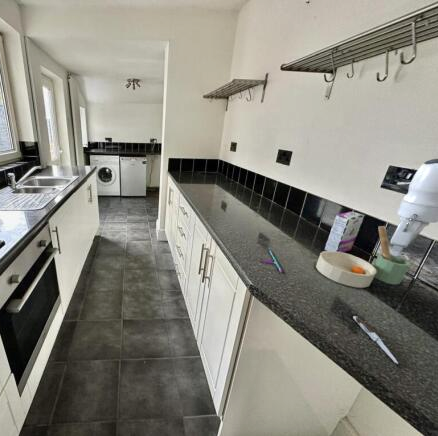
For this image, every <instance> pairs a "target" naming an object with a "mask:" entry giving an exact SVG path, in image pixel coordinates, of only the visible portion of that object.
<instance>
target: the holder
mask: <svg viewBox="0 0 438 436" xmlns="http://www.w3.org/2000/svg"><path fill="white" fill-rule="evenodd" d="M390 257H391V261H389V260H386V259H385V258H383V254H382V252H381V253H379V254H378V255H377V257H376V259H375V262H374V264H372V265H373V267H374V268H375V269H376V271H377V273H376V275H375V277H374V279H376V280H378V281H380V282H384V283H386V284H390V285H400V284H401V283H402V281H403V279H404V277H405V276H406V274H407V272H408V270H409V269H410V266H411V265H412V264H411V262H410V261H409V260H407V259H406V258H403V257H401V256H400V255H399V256H394V255H392V254H391V253H390Z"/></svg>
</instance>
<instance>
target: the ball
mask: <svg viewBox="0 0 438 436" xmlns="http://www.w3.org/2000/svg"><path fill="white" fill-rule="evenodd" d="M351 272H352V273H356V274H363V273H364V271H363V269H362V268H361V267H358V266H355V267H353V268H352V269H351Z"/></svg>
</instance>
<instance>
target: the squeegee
mask: <svg viewBox="0 0 438 436" xmlns="http://www.w3.org/2000/svg"><path fill="white" fill-rule="evenodd" d="M268 252H269V253H270V255H271V257H272V260H273V261H274V262H273V261H271V260H262V263H266V264H274V265H276V267H277V269H278V271H279V273H280V274H283V270H282V268H281V267H280V265H279V263H278V261H277V259H276V258H275V255H274V254H273V252H272V251H271V250H268Z"/></svg>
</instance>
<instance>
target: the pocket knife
mask: <svg viewBox="0 0 438 436" xmlns="http://www.w3.org/2000/svg"><path fill="white" fill-rule="evenodd" d="M352 318H353V320H354V321H355V322H356V323H357V325H359V326H360V328H361V329H362V330H363V331H364V332H365V333H366V334H367V335H368V336H369V337H370V338H371V339H372V341H374V342H375V343H376V344H377V345H378V346H379V347H380V348H381V350H383V351H384V352H385V354H387V356H388V357H389V358H390V359H391V360H392V361H393V362H394V363H395V364H397V365H399V361H397V359H396V357H395V356H394V355H393V354H392V353H391V352H390V350H389V348H388V347H387V346H386V345H385V343H384V342H383V341H382V339H381V338H380V336H379V335H378V334H377V333H376V332H375V331H374V330H373V329H372V328H371V327H370V326H369V325H368V324H367V323H366V322H365V321H364V320H363V319H361V318H360V316H356V315H354V316H352Z"/></svg>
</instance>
